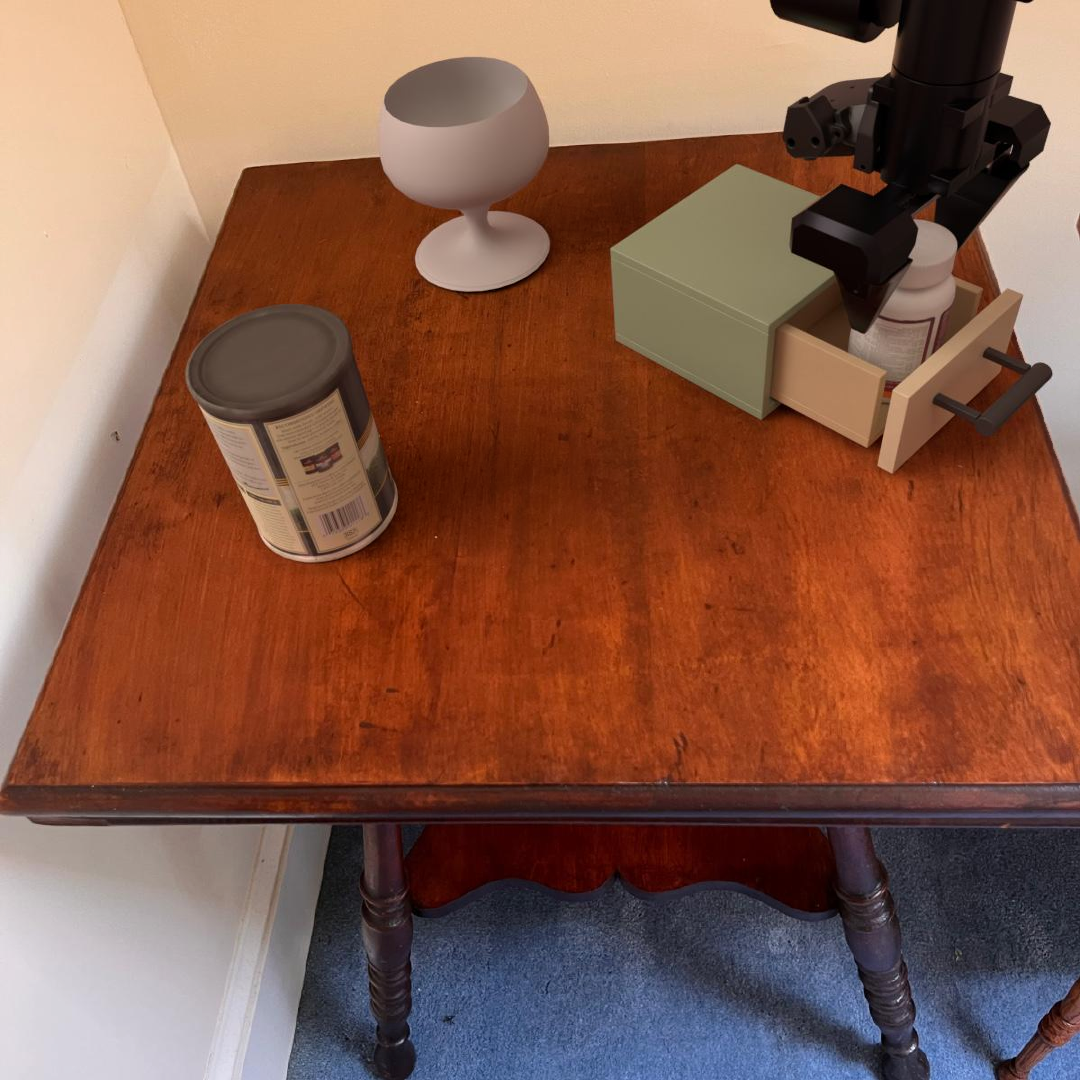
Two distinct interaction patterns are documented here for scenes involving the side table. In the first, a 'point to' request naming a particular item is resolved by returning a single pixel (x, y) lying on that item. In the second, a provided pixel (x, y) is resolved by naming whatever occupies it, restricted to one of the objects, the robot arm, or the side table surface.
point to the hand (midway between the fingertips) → (900, 296)
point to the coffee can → (296, 429)
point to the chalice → (468, 166)
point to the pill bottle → (912, 310)
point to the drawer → (923, 397)
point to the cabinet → (717, 285)
